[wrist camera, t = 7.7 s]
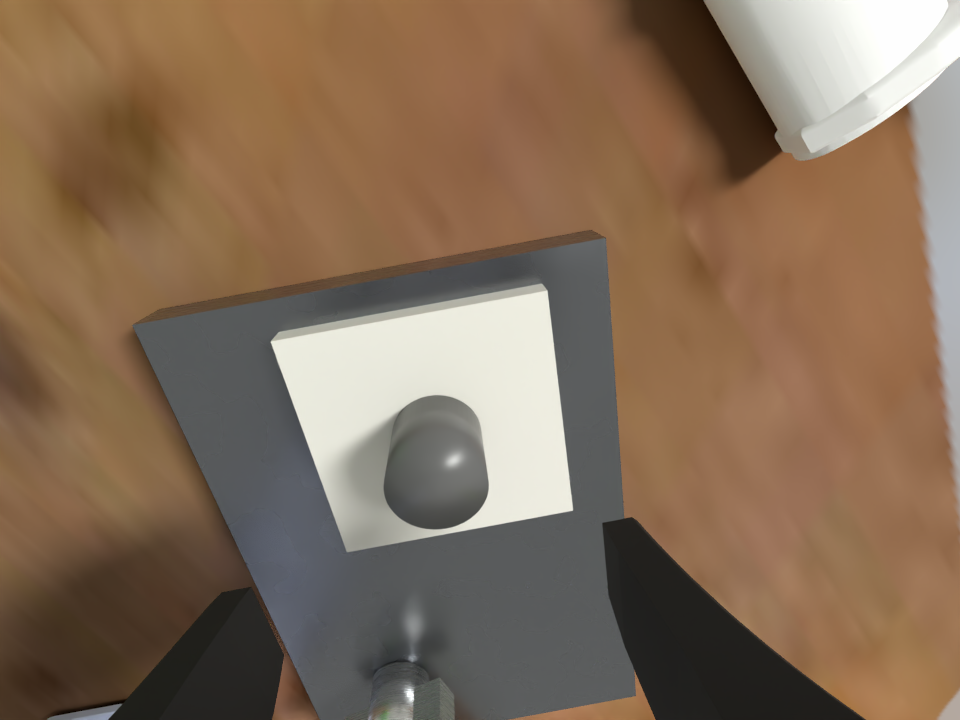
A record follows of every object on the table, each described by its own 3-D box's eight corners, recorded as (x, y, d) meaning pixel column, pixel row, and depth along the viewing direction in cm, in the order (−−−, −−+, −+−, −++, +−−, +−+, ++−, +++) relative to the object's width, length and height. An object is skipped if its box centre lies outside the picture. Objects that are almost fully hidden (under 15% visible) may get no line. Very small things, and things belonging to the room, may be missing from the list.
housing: (341, 717, 24) (335, 751, 23) (158, 309, 16) (132, 325, 15) (624, 664, 24) (635, 695, 23) (591, 229, 16) (605, 237, 15)
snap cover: (350, 536, 18) (331, 619, 15) (278, 331, 15) (235, 383, 12) (568, 495, 18) (595, 570, 15) (542, 283, 15) (569, 321, 12)
